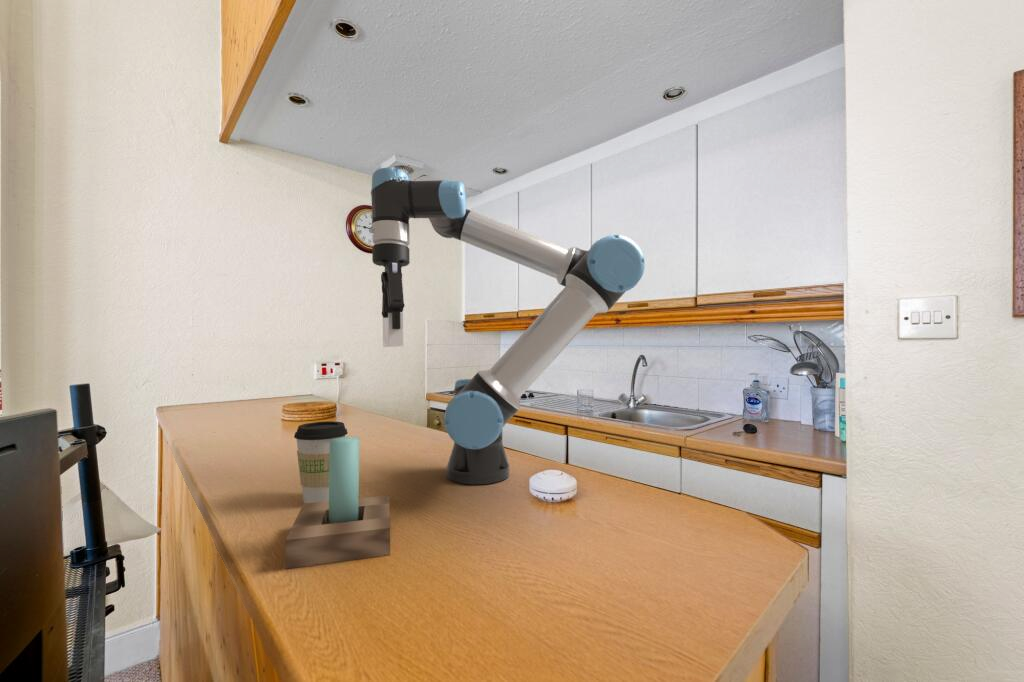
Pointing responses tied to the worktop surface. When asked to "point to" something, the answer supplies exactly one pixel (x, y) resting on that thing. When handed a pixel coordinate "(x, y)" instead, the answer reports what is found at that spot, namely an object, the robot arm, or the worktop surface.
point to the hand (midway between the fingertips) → (392, 346)
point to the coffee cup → (316, 457)
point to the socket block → (338, 534)
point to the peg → (343, 479)
